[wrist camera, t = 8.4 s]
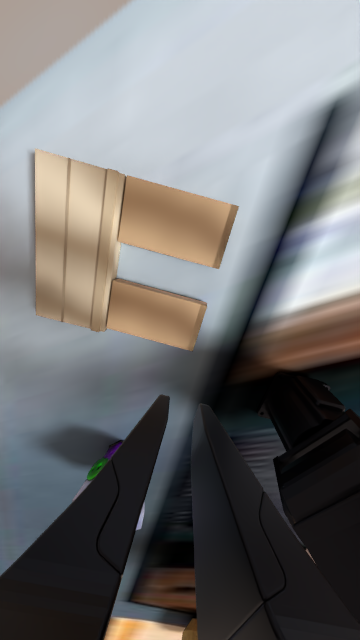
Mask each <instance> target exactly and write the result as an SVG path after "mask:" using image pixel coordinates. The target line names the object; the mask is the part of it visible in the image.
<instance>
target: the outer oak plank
mask: <svg viewBox="0 0 360 640" xmlns="http://www.w3.org/2000/svg"><path fill="white" fill-rule="evenodd" d="M238 207H239V206H236V205H232V204H228V203H225V202H221V201H218V200H214V199H210V198H207V197H203V196H200V195H196V194H192V193H189V192H185V191H182V190H178V189H174V188H171V187H167V186H164V185H160V184H156V183H153V182H149V181H146V180H142V179H138V178H135V177H131V176H128V175H127V178H126V186H125V193H124V201H123V208H122V216H121V223H120V231H119V238H118V242H122V243H125V244H129V245H133V246H136V247H140V248H144V249H147V250H151V251H155V252H158V253H162V254H166V255H169V256H173V257H176V258H180V259H184V260H187V261H191V262H195V263H198V264H202V265H206V266H209V267H213V268H217V269H219V267H220V264H221V261H222V258H223V254H224V251H225V248H226V245H227V242H228V239H229V236H230V233H231V229H232V226H233V223H234V220H235V217H236V214H237V211H238Z"/></svg>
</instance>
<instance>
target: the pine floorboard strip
mask: <svg viewBox="0 0 360 640" xmlns="http://www.w3.org/2000/svg"><path fill="white" fill-rule="evenodd" d="M126 178H127V177H126V176H125V175H124V174H121V173H119V172H118V171H115V170H111V169H104V168H101V167H97V166H94V165H90V164H87V163H83V162H80V161H76V160H73V159H70V158H66V157H63V156H59V155H56V154H52V153H49V152H45V151H42V150H39V149H35V232H36V315H38V316H42V317H46V318H50V319H54V320H58V321H61V322H66V323H70V324H74V325H78V326H82V327H86V328H90V329H91V330H92V331H96V332H99V331H102V332H104V331H105V330H106V329H107V320H108V313H109V305H110V298H111V290H112V283H113V280H116V276H117V269H118V261H119V254H120V247H121V242H118V238H119V231H120V223H121V216H122V208H123V201H124V193H125V186H126Z"/></svg>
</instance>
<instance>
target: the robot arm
mask: <svg viewBox="0 0 360 640" xmlns="http://www.w3.org/2000/svg"><path fill="white" fill-rule="evenodd" d="M280 376H281V377H280ZM279 377H280V378H279ZM329 390H330V387H329V386H328V385H327V384H326V383H322V382H320V381H319V380H315V379H311V378H307V377H303V376H294V375H290V374H286V373H282V372H278V373H276V375H275V377H274V378H273V380H272V382H271V384H270V386H269V388H268V390H267V392H266V394H265V396H264V398H263V400H262V402H261V404H260V406H259V408H258V409H257V413H258V415H259V416H260V417H264V418H268V419H271V421H272V423H273V425H274V427H275V429H276V431H277V433H278V435H279V437H280V439H281V441H282V443H283V445H284V447H285V449H286V451H287V452H285V453H284V454H282V455H281V456H279V457H278V456H277V457H276V458H274V459H273V462H274V467H275V472H276V477H277V482H278V487H279V492H280V497H281V501H282V506H283V510H284V513H285V515H286V516H287V518H288V520H289V522H290V524H291V525H292V527H293V529H294V531H295V532H296V534H297V535H298V537H299V538H300V539H301V541H302V542H303V543H304V545H305V546H306V547H307V549H308V551H309V553H310V554H311V556H312V558H313V560H314V561H315V563H316V564H315V563H314V561H313V560H312V559H311V557H310V556H309V555H308V553H307V552H306V551H305V549H304V548H303V546H302V545H301V544H300V542H299V541H298V539H297V538H296V537H295V535H294V534H293V532H292V531H291V530H290V528H289V527H288V525H287V524H286V522H285V521H284V520H283V518H282V517H281V515H280V514H279V512H278V511H277V509H276V508H275V506H274V505H273V503H272V502H271V500H270V498H269V497H268V495H267V494H266V492H263V491H264V490H263V488H262V486H261V485H260V483H259V482H258V480H257V479H256V477H255V475H254V474H253V472H252V471H251V469H250V468H249V466H248V465H247V463H246V462H245V460H244V458H243V457H242V455H241V454H240V452H239V451H238V449H237V448H236V446H235V445H234V443H233V441H232V440H231V438H230V437H229V435H228V434H227V432H226V431H225V429H224V428H223V426H222V424H221V423H220V421H219V420H218V418H217V417H216V415H215V414H214V412H213V411H212V409H211V408H210V406H209V405H205V404H199V406H198V408H197V411H196V414H195V417H194V421H193V435H192V451H191V481H192V507H193V532H194V558H195V583H196V609H197V634H198V640H360V417H359V416H358V415H357V414H356V413H355V412H353V411H352V410H351V409H349V410H347V411H346V412H344V410H345V407H344V405H343V404H342V403H341V402H340V401H339V400H338V399H337V398H336V397H335V396H334V395H333V394H332V393H331V392H330V391H329ZM169 400H170V397H169V396H166V395H160V396H159V397H158V398H157V399H156V401H155V402H154V403H153V404H152V406H151V407H150V408H149V410H148V411H147V412H146V413H145V415H144V416H143V417H142V418H141V420H140V421H139V422H138V424H137V425H136V426H135V427H134V429H133V430H132V431H131V432H130V434H129V435H128V436H127V438H126V439H125V440H124V441H123V443H122V444H121V445H120V446H119V448H118V449H117V450H116V452H115V453H114V454H113V455H112V457H111V459H109V460H108V462H107V463H106V464H105V465H104V467H103V468H102V469H101V470H100V472H99V473H98V474H97V475H96V476H95V478H94V479H93V480H92V481H91V482H90V484H89V485H88V486H87V487H86V488H85V489H84V490H83V491H82V492H81V494H80V495H79V496H78V497H77V498H76V499H75V500H74V501H73V502H72V503H71V504H70V505H69V506H68V507H67V509H66V510H65V511H64V512H63V513H62V514H61V515H60V516H59V517H58V518H57V519H56V520H55V521H54V522H53V523H52V524H51V525H50V526H49V527H48V528H47V529H46V530H45V531H44V532H43V533H42V534H41V535H40V536H39V537H38V538H37V540H36V541H35V542H34V543H33V544H32V545H31V546H30V547H29V548H28V549H27V550H26V551H25V552H24V553H23V554H22V555H21V556H20V557H19V558H18V559H17V560H16V561H15V562H14V563H13V564H12V565H11V566H10V567H9V568H8V569H7V570H6V571H5V572H4V573H3V574H2V575H1V576H0V640H104V638H105V634H106V631H107V627H108V624H109V621H110V617H111V614H112V610H113V607H114V603H115V600H116V597H117V593H118V590H119V586H120V583H121V579H122V576H123V572H124V569H125V566H126V562H127V559H128V555H129V552H130V548H131V545H132V542H133V538H134V535H135V531H136V528H137V524H138V521H139V518H140V514H141V511H142V507H143V504H144V500H145V497H146V494H147V490H148V487H149V483H150V480H151V476H152V473H153V470H154V466H155V463H156V459H157V456H158V452H159V449H160V445H161V442H162V439H163V435H164V432H165V428H166V425H167V421H168V412H169ZM261 412H262V413H261Z"/></svg>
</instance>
